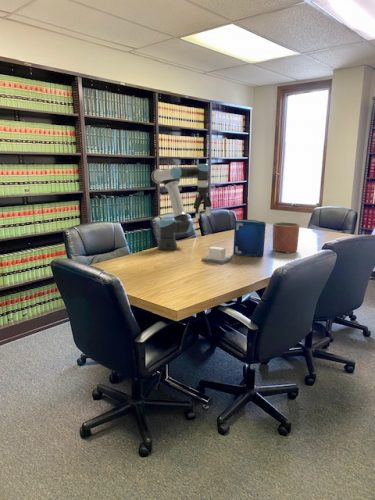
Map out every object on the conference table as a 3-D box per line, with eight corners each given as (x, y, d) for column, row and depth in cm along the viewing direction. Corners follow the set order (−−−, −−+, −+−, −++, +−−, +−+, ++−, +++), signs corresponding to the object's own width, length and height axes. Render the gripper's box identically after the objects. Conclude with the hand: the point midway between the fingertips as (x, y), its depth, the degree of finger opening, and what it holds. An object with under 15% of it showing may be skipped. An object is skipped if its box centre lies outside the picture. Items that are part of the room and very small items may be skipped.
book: (265, 255, 261) (266, 220, 255) (263, 257, 254) (265, 221, 249) (234, 253, 268) (235, 219, 262) (232, 255, 261) (233, 220, 256)
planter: (266, 250, 274) (267, 224, 270) (279, 246, 288) (280, 221, 283) (290, 254, 262) (291, 227, 257) (302, 250, 275) (304, 223, 271)
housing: (208, 258, 248) (208, 248, 246) (212, 256, 252) (212, 246, 250) (221, 260, 242) (221, 249, 241) (225, 258, 247) (225, 248, 245)
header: (201, 260, 247) (201, 253, 246) (211, 257, 257) (211, 250, 256) (222, 264, 238) (222, 256, 237) (231, 260, 248) (231, 253, 247)
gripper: (197, 187, 243) (197, 219, 248) (216, 185, 263) (216, 215, 268) (188, 187, 247) (188, 218, 252) (207, 185, 268) (207, 214, 272)
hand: (202, 217), depth 260 cm, fingers open, 13 cm apart
